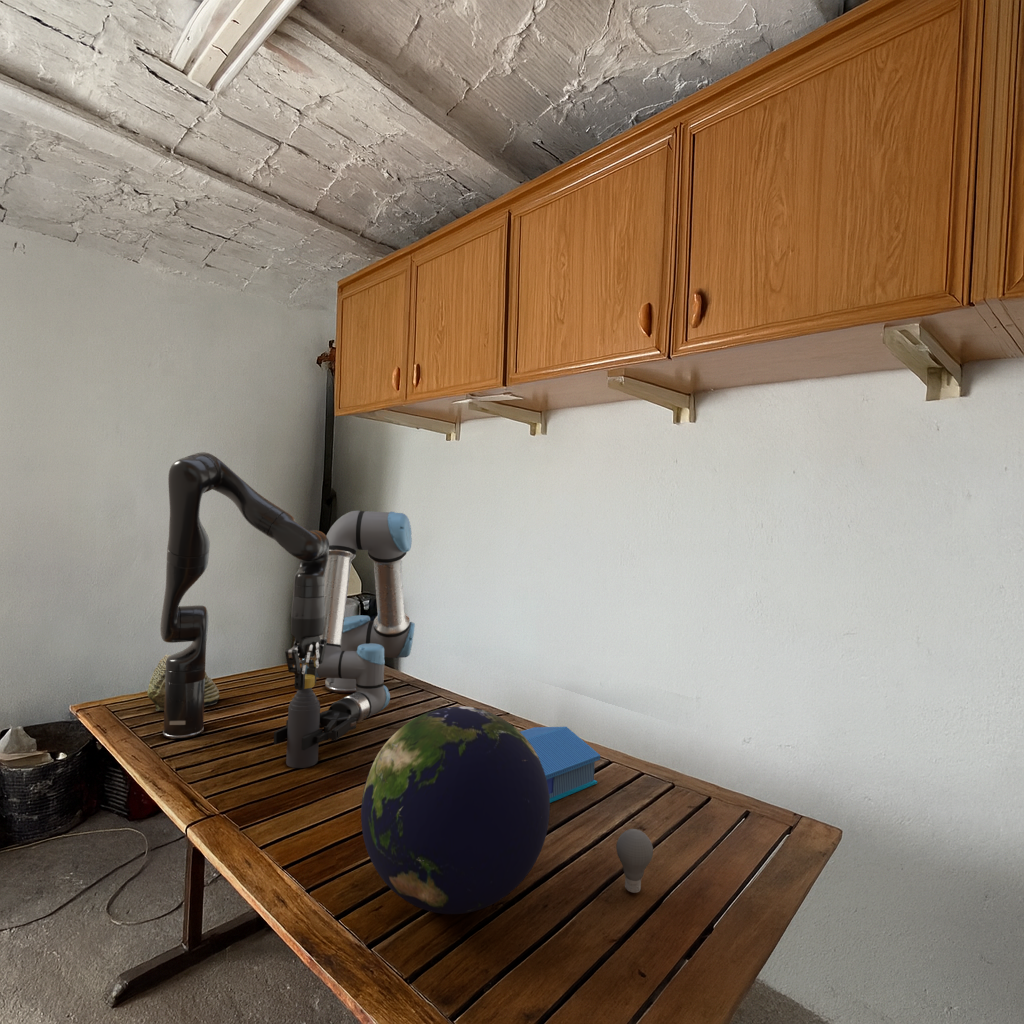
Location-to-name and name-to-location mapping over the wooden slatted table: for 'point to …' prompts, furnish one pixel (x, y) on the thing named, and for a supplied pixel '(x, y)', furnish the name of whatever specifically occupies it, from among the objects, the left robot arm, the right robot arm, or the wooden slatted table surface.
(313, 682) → the cap
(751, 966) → the wooden slatted table surface
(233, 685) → the wooden slatted table surface
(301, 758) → the bottle
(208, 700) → the fossil
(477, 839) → the globe
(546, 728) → the model building
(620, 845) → the light bulb
